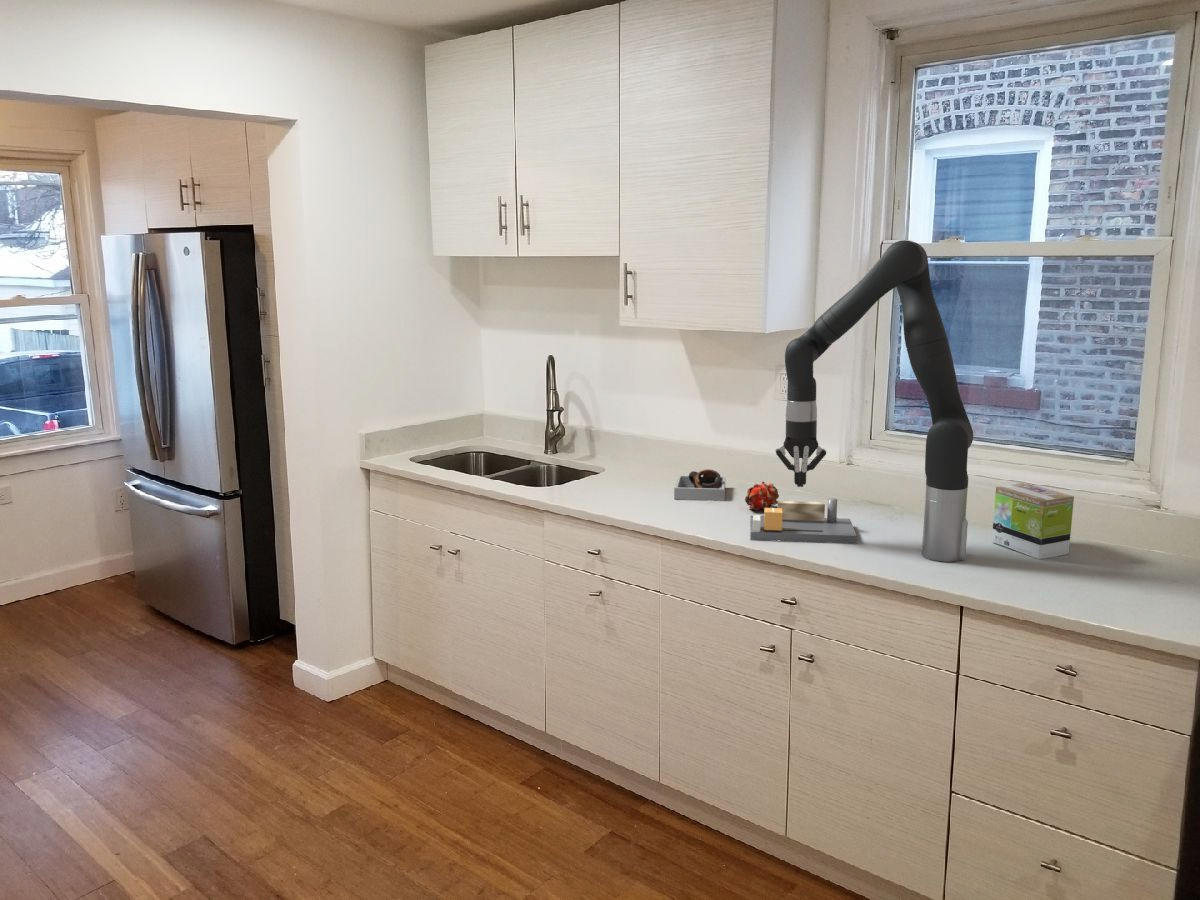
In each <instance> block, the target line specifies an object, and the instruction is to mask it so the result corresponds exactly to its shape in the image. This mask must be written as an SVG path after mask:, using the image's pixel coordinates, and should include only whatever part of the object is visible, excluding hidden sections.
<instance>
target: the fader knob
mask: <svg viewBox="0 0 1200 900" xmlns="http://www.w3.org/2000/svg"><path fill="white" fill-rule="evenodd" d="M763 510H764V511H763V512H764V515H763V516H764V530H782V514H783V513H782V508H778V507H777V508H776V507H771V508H764V509H763Z"/></svg>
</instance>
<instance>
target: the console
mask: <svg viewBox="0 0 1200 900" xmlns="http://www.w3.org/2000/svg"><path fill="white" fill-rule="evenodd" d="M837 517H838V498H833V497H830V498H827V513H826V517H824V521H815V520H784V519H782V530H764V515H760V514H753V515H750V522H749V523H750V529H749V530H750V531H749V532H750V534H749V535H750V540H751V541H770V540H776V542H778V541H777V540H780V541H779V542H797V541H802V542H803V543H825V542H832V544H852V543H856V544H857V537H858V536H857V534H856V533H857V532H855V531H856V530H855V529H854V528H855V527H854V525H853V523H852V520H851V518H843V517H842V518H837ZM805 541H806V542H805ZM802 542H801V543H802Z"/></svg>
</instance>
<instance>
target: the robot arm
mask: <svg viewBox="0 0 1200 900" xmlns="http://www.w3.org/2000/svg"><path fill="white" fill-rule="evenodd" d="M930 274H931V273H930V267H929V259H928V254H927V251H926V250H925V248H924V247H923V246H922V245H921V244H919V243H918V242H916V241H911V240H906V239H905V240H904V239H903V240H902V239H901V240H898V241H896V242H894V243H892V244H891V245H889V246H888V247H887V249H886V250H885V252H884V253H882V255H881V257H880V258H879V259H878V260H877V261H876V263H875V264H874V265H873V266H872V268H871V269H870V270H868V272H867V273H866V274H865V276H863V277H862V278H861V280H860V281H858V283H856V284H855V285H854V286H853V287H852V288H851V289H849V291H847V292H846V293H845V294H843V296H842V297H840V298H839V299H838V300H837V301H836V302H834V304H833V305H831V306H830V307H829V308H828V309H827V310H826V311H824V313H822V314H821V315H820V316H819V317H818V318H817V319H816V321H814V323H813V325H812V326H811V327H809V329H807V331H805V332H804V333H803V334H802V335H800V336H799V337H797V338H794V339H792V340H790V341H789V342H788V344H787V345H786V347H785V351H784V364H785V372H786V379H787V392H786V393H787V394H786V396H787V397H786V399H787V400H786V408H785V438H784V441H783V445H781V446H780V447H779V448H776V449H775V455H776V456H777V457H778V458H779V459H780V461H781V462H782V463H783V464H784V466H785V467H786V469H788V471H793V472H794V476H793V477H794V478H793V479H794V484H795V485H796V487H797V488H803V487H804V485H806V483H807V472H809V471H813V470H815V468H816V467H817V466H818V464H820V462H821V461H822V460H823V458H824V457H826V456H827V450H826V449H825V448H822V447H821V446H819V442H818V439H817V437H818V436H817V432H818V431H817V428H818V426H817V424H818V423H817V422H818V421H817V420H818V406H817V381H816V379H815V377H814V362H816V360H817V359H819V358H820V357H821V356H822V355H823V354H824V353H825V352H826V351H827V350H828V349H829V348H830V347H831V346H832V344H833V343H835V342H837V341H838V340H839V339H840V338H842V336H844V335H845V334H846V333H847V332H849V330H850V329H852V328H853V327H854V326H855V325H856V324H857V323H858V322H859V321H860V320H861V319H862V318H864V316H865V315H866V314H867V313H868V311H869V310H871V308H872V307H873V306H874V305H876V303H877V302H879V300H881V298H883V297H884V296H885V295H886V294H887V293H889V292H890V291H892V290H894V289H895V288H896V290H897V293H898V295H899V296H898V297H899V299H900V302H901V304H900V305H901V309H902V322H903V323H902V327H903V336H904V344H905V348H906V351H907V352H906V353H907V356H908V359H909V364H910V367H911V369H912V371H913V373H914V376H915V378H916V381H917V382H918V384H919V386H920V388H921V389H922V391H923V393H924V395H925V397H926V400H927V403H928V406H929V411H930V416H931V418H930V419H931V422H932V423H931V424H932V426H930V428H929V429H928V432H927V435H926V438H925V456H924V458H925V461H924V474H925V478H926V479H925V496H924V512H923V514H924V515H923V527H922V529H923V530H922V545H921V555H922V556H923V558H926V559H928V560H930V561H931V560H932V561H935V562H936V561H937V562H944V563H948V562H950V563H951V562H959V561H966V554H967V553H966V551H967V541H968V540H967V537H968V523H969V522H968V520H967V519H966V516H967V502H968V488H969V475H968V453H969V448H970V447H971V445H972V444H973V440H974V431H973V430H974V429H973V427H972V424H971V422H970V420H969V419H970V418H969V417H968V415H967V414H968V413H967V412H966V409H965V406H964V403H963V401H962V398H961V395H960V391H959V386H958V381H957V375H956V370H955V364H954V360H953V355H952V350H951V347H950V344H949V343H950V342H949V338H948V336H947V335H948V334H947V332H946V329H945V326H944V322H943V319H942V316H941V314H940V311H939V308H938V306H937V303H936V300H935V297H934V293H933V288H932V287H933V286H932V280H931V275H930ZM786 451H787V452H786ZM786 453H788V455H790V457H791V458H792V459H793V463H791V462H790V460H789V459H788V458H787V456H786ZM814 453H815V457H814V458H813V459H812V460H811V461H810V463H809V458H810V457H811V456H813V454H814ZM800 459H801V468H800Z"/></svg>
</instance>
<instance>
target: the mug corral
mask: <svg viewBox="0 0 1200 900" xmlns="http://www.w3.org/2000/svg"><path fill="white" fill-rule="evenodd" d="M701 477H703V475H701ZM720 477H721V478H722V481H721V483H722V487H720V488H719V489H715V488H695V487H694V485H693V484H692V483H691V481H690V480H689V475H678V476H677V478H676V480H675V481H676V482H675V485H674V489H673V494H674V495H673V500H675V499H679V501H680V500H681V501H708V500H714V501H713V502H715V501H716V502H717V500H720V501H719V502H724V501H725V495H726V479H727V478H726V476H720ZM717 479H718V477H717V478H716V479H715V481H717Z"/></svg>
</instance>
